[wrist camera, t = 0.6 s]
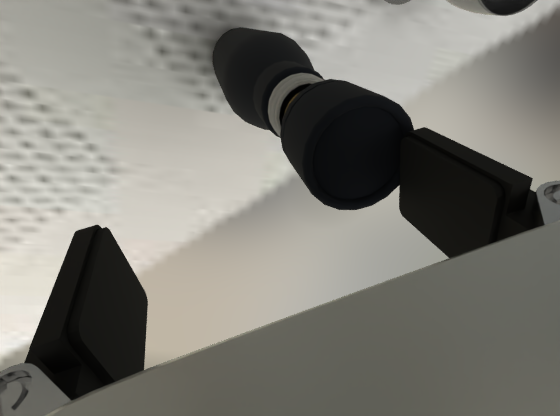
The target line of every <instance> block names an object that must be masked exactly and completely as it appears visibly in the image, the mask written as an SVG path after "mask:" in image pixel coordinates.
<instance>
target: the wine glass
mask: <svg viewBox="0 0 560 416" xmlns="http://www.w3.org/2000/svg"><path fill="white" fill-rule="evenodd" d="M385 1H386V2H388V3H391V4H396V5H399V4H404V3H407V2H409V1H410V0H385ZM446 1H447V2H449V3H450V4H452V5H454V6H456V7H458V8H460V9H463V10H466V11H469V12H473V13H477V14H485V15H500V16H507V15H513V14H516V13H519V12H521V11H523V10H525V9H526V8H528V7H530V6H531V5H532V4H533V3H535V2H536V1H537V0H446Z"/></svg>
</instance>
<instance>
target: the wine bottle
mask: <svg viewBox="0 0 560 416" xmlns="http://www.w3.org/2000/svg"><path fill="white" fill-rule="evenodd" d="M213 67H214V70H215V74H216V76H217V79H218V81H219V83H220V86H221V88H222V90H223V93H224V95H225V97H226V100H227V101H228V103H229V105H230V106H231V108H232V109H233V111H234V112H235V113H236V114H237V115H238V116H239V117H241V118H242V119H243V120H244V121H245V122H247V123H249V124H252V125H254V126H257V127H259V128H262V129H265V130H270V131H271V132H272V133H274V134H275V135H276V136H277V137H280V138H281V142H282V148H283V151H284V153H285V154H286V156H287V158H288V160H289V161H290V163H291V164H292V166H293V167H294V169H295V170H296V172H297V173H298V175H299V176H300V177H301V179H302V180H303V182H304V183H305V185H306V186H307V188H308V189H309V190H310V192H311V194H312V195H314V196H315V197H316V198H317V199H318V200H320V201H321V202H322V203H323V204H324V205H327V206H330V207H333V208H336V209H339V210H357V209H361V208H364V207H368V206H372V205H373V204H375V203H377V202H379V201H380V200H382V199H384V198H386V197H387V196H388V195H389V194H390V193H391V192H392V191H393V190H394V189H396V188H397V187H398V186H399V185H400V143H401V140H402V139H403V138H404V136H405V134H406V133H407V132H410V131H413V130H414V128H413V125H412V122H411V119H410V117H409V116H408V114H407V113H406V112H405V111H404V110H403V108H402V107H401V106H400V105H399V104H397V103H396V102H394V101H392V100H390V99H388V98H386V97H384V96H382V95H380V94H377V93H374V92H372V91H369V90H367V89H364V88H362V87H359V86H357V85H354V84H352V83H349V82H347V81H342V80H333V79H329V80H324V79H323V77H322V76H321V75H320V74H319V73H318V72H316V71H314V69H313V66H312V64H311V62H310V60H309V58H308V56H307V54H306V53H305V52H304V51H303V50H302V49H301V48H300V46H299V45H298V44H297V43H296V42H295V41H294V40H292V39H291V38H289V37H287V36H285V35H283V34H281V33H275V32H269V31H262V30H255V29H248V28H236V29H231V30H230V31H228V32H226V33H225V34H223V35H222V36H221V38H220V39H219V40H218V42H217V43H216V46H215V48H214V51H213Z"/></svg>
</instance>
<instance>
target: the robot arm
mask: <svg viewBox="0 0 560 416" xmlns="http://www.w3.org/2000/svg"><path fill="white" fill-rule="evenodd" d="M531 182H532V178H531V177H529V176H527V175H524V174H523V173H520V172H518V171H516V170H514V169H512V168H510V167H508V166H506V165H504V164H501V163H499V162H497V161H495V160H493V159H491V158H489V157H487V156H485V155H482V154H480V153H478V152H476V151H474V150H472V149H470V148H468V147H466V146H464V145H461V144H459V143H457V142H455V141H453V140H451V139H449V138H447V137H445V136H442V135H440V134H438V133H436V132H434V131H432V130H430V129H428V128H425V127H424V128H420V129H417V130H413V131H410V132H407V133H406V134H405V136H404V138H403V139H402V140H401V143H400V194H399V197H400V198H399V209H400V212H401V214H402V216H403V217H404V218H405V219H406V220H407V221H409V222H410V223H411V224H412V225H413V226H414V227H415V228H417V229H418V230H419V231H420V232H421V233H422V234H423V235H424V236H425V237H427V238H428V239H429V240H430V241H431V242H432V243H433V244H434V245H436V246H437V247H438V248H439V249H440V250H441V251H442V252H443V253H445V254H446V255H447V256H448V257H449V259H446V260H444V261H441V262H438V263H435V264H432V265H430V266H427V267H424V268H422V269H418V270H416V271H413V272H410V273H407V274H404V275H402V276H399V277H396V278H393V279H390V280H388V281H385V282H383V283H380V284H377V285H374V286H371V287H368V288H366V289H363V290H360V291H357V292H355V293H352V294H349V295H347V296H344V297H341V298H338V299H336V300H333V301H330V302H327V303H324V304H322V305H319V306H316V307H314V308H311V309H308V310H305V311H302V312H300V313H297V314H294V315H291V316H289V317H286V318H284V319H281V320H278V321H275V322H272V323H270V324H267V325H265V326H262V327H259V328H256V329H254V330H251V331H248V332H245V333H243V334H240V335H237V336H235V337H232V338H229V339H226V340H224V341H221V342H218V343H216V344H213V345H210V346H208V347H205V348H202V349H199V350H197V351H194V352H191V353H189V354H186V355H183V356H180V357H178V358H175V359H172V360H170V361H167V362H164V363H162V364H159V365H156V366H154V367H151V368H148V369H146V370H144V359H145V341H146V323H147V306H148V301H147V296H146V293H145V291H144V289H143V287H142V286H141V284H140V282H139V280H138V279H137V277H136V275H135V273H134V272H133V270H132V268H131V266H130V265H129V263H128V261H127V259H126V258H125V256H124V254H123V252H122V251H121V249H120V247H119V245H118V244H117V242H116V240H115V238H114V237H113V235H112V233H111V231H110V230H109V229H108V228H107V227H105V228H101V227H100V226H99V225H95V226H91V227H88V228H85V229H81V230H78V231H76V232H75V233H74V236H73V238H72V241H71V244H70V246H69V249H68V251H67V254H66V256H65V259H64V261H63V264H62V266H61V269H60V272H59V274H58V277H57V279H56V282H55V284H54V287H53V289H52V292H51V295H50V297H49V300H48V302H47V305H46V307H45V310H44V312H43V315H42V317H41V320H40V323H39V325H38V328H37V330H36V333H35V335H34V338H33V340H32V343H31V345H30V348H29V349H30V350H29V352H28V355H27V357H26V360H25V362H24V363H22V364H18V365H14V366H11V367H9V368H7V369H5V370H3V371H1V372H0V416H560V181H553V182H547V183H545V184H542V185H540V186H539V187H538V188H537V191H536V192H534V191H532V190H530V186H531Z"/></svg>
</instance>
